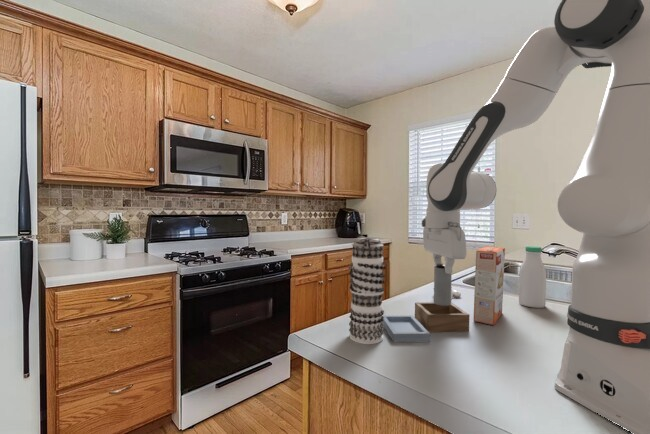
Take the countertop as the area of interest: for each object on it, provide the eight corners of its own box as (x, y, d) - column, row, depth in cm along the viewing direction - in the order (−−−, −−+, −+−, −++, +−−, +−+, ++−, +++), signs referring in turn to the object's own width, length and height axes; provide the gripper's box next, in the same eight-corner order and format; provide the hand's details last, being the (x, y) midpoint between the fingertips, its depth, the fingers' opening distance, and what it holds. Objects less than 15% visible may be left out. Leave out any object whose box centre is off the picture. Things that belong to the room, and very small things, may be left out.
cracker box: (495, 326, 89) (498, 251, 88) (472, 321, 92) (474, 249, 92) (504, 313, 100) (505, 247, 99) (482, 309, 103) (484, 245, 103)
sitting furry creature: (449, 302, 111) (450, 268, 111) (427, 296, 118) (428, 264, 118) (462, 297, 118) (463, 265, 117) (440, 292, 124) (441, 261, 124)
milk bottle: (550, 308, 105) (552, 248, 105) (527, 308, 105) (529, 248, 105) (535, 301, 113) (537, 245, 112) (513, 301, 113) (515, 245, 112)
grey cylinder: (452, 306, 87) (453, 268, 87) (435, 305, 87) (436, 268, 87) (448, 301, 91) (449, 265, 91) (432, 301, 92) (433, 265, 92)
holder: (469, 331, 85) (469, 314, 85) (428, 331, 84) (428, 314, 84) (450, 317, 96) (451, 302, 96) (414, 317, 95) (415, 302, 95)
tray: (429, 341, 78) (429, 333, 78) (393, 341, 78) (393, 333, 78) (412, 322, 91) (412, 315, 91) (381, 322, 91) (381, 315, 91)
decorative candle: (392, 338, 80) (394, 238, 79) (368, 348, 74) (369, 241, 73) (365, 327, 87) (366, 236, 86) (340, 336, 81) (341, 237, 80)
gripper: (473, 222, 79) (473, 278, 79) (439, 221, 99) (439, 265, 99) (448, 222, 79) (448, 278, 79) (419, 221, 99) (419, 265, 99)
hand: (443, 271), depth 89 cm, fingers closed on grey cylinder, 4 cm apart
